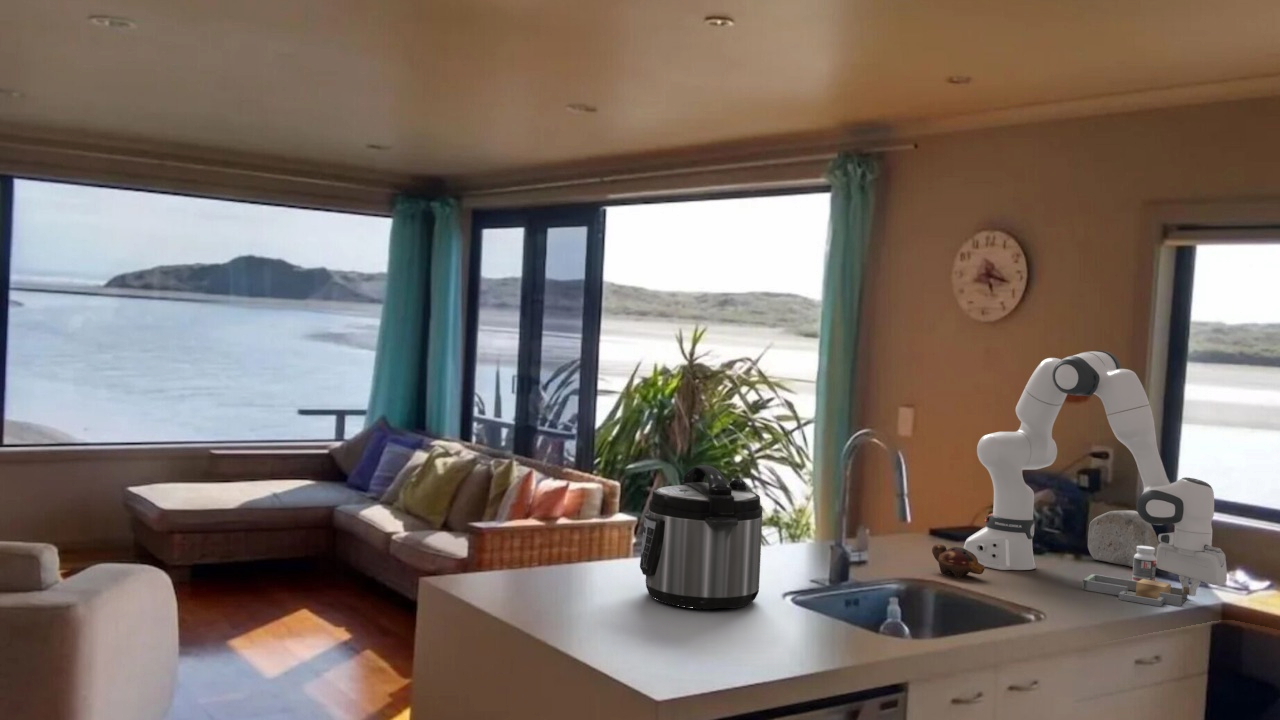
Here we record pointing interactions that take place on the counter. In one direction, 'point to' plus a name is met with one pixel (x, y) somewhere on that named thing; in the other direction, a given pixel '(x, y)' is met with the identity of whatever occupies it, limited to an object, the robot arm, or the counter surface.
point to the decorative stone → (1119, 537)
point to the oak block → (1151, 588)
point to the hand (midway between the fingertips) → (1188, 594)
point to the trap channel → (1122, 585)
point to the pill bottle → (1144, 564)
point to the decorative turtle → (956, 560)
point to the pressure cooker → (703, 542)
